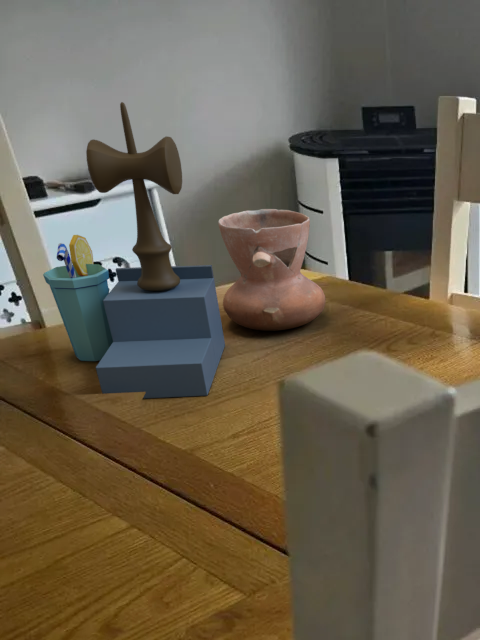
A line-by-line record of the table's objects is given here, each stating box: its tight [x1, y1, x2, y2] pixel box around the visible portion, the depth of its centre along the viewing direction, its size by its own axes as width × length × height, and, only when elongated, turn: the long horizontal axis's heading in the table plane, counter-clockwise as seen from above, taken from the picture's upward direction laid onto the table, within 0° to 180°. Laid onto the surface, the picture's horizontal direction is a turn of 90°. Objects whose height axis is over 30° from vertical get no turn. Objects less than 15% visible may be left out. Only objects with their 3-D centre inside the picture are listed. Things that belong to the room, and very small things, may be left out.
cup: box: [42, 234, 113, 362], centre depth 105 cm, size 14×8×15 cm, turn 14°
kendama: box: [85, 101, 183, 291], centre depth 97 cm, size 6×10×20 cm, turn 92°
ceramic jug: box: [217, 208, 326, 332], centre depth 117 cm, size 18×14×14 cm
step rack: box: [95, 264, 226, 400], centre depth 102 cm, size 12×18×10 cm, turn 6°
